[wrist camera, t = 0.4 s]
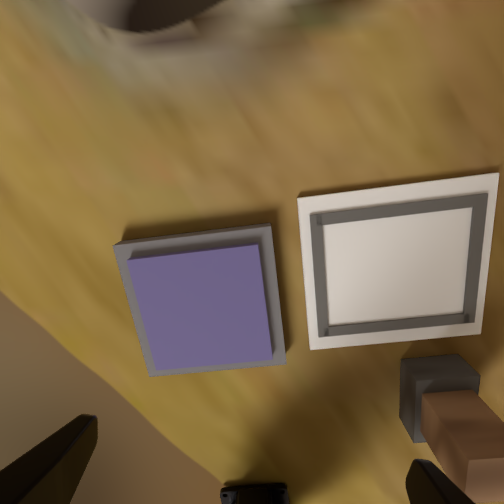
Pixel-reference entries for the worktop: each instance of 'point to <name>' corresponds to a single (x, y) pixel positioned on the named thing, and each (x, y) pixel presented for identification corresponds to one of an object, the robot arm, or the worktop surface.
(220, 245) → the ink pad
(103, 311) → the worktop surface
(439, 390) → the stamp
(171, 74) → the worktop surface
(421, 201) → the marked card
